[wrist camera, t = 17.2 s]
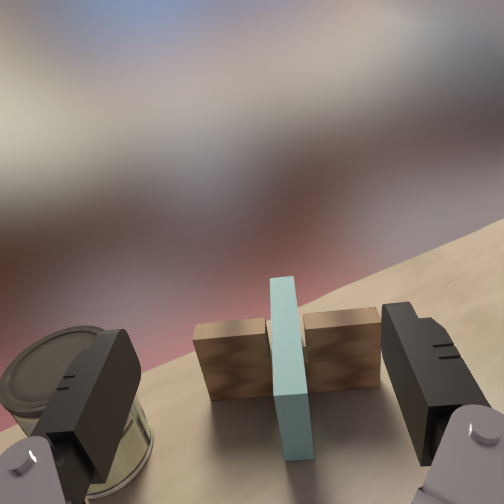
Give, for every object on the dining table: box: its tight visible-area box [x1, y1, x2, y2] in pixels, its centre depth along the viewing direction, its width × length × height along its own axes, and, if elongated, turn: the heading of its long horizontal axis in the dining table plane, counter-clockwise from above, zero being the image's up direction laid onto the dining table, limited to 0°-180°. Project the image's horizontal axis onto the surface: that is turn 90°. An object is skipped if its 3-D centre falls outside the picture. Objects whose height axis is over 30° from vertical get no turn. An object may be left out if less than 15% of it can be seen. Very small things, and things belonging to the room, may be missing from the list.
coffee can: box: [0, 325, 153, 499], centre depth 40 cm, size 10×10×14 cm
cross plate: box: [270, 276, 315, 461], centre depth 44 cm, size 3×18×10 cm, turn 178°
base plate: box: [193, 307, 381, 401], centre depth 45 cm, size 20×2×10 cm, turn 88°
